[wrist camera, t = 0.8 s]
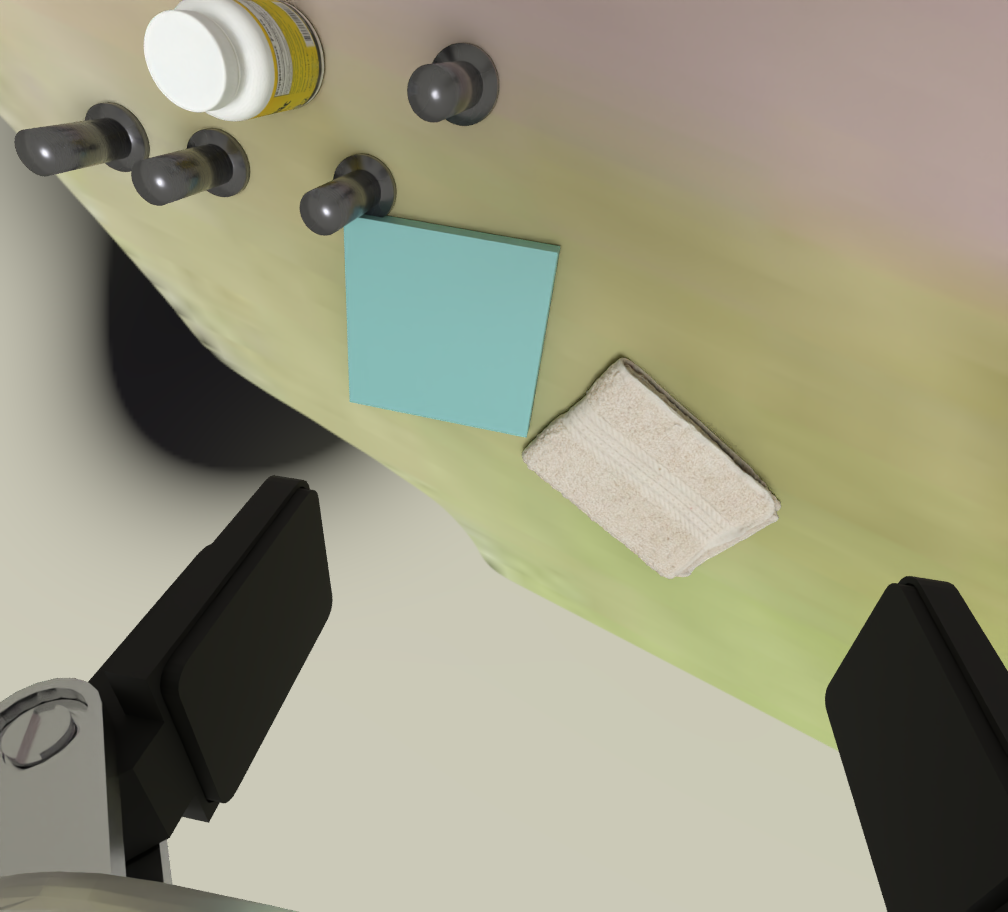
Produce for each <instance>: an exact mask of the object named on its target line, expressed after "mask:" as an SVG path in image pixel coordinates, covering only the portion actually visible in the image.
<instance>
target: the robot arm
mask: <svg viewBox="0 0 1008 912" xmlns="http://www.w3.org/2000/svg"><path fill="white" fill-rule="evenodd" d="M331 607H332V591H331V584H330V577H329V570H328V562H327V555H326V549H325V541H324V534H323V527H322V520H321V513H320V505H319V498H318V494H317V492H316V491H314V490H310V488H309V485H308V483H307V482H306V481H304V480H299V479H294V478H287V477H280V476H275V475H274V476H270V477H269V478H268V479H267V480H266V481H265V482H264V483H263V484H262V485H261V487H260V488H259V489H258V490H257V491H256V493H255V494H254V495H253V496H252V497H251V498H250V499H249V501H248V502H247V503H246V504H245V505H244V507H243V508H242V509H241V510H240V511H239V512H238V514H237V515H236V516H235V517H234V518H233V520H232V521H231V522H230V523H229V524H228V525H227V527H226V528H225V529H224V530H223V531H222V532H221V534H220V535H219V536H218V537H217V538H216V539H215V541H214V542H213V543H212V544H210V545H208V546H206V547H205V548H204V549H203V550H202V551H201V552H199V554H198V555H197V556H196V557H195V558H194V559H193V561H192V562H191V563H190V564H189V565H188V566H187V568H186V569H185V570H184V571H183V572H182V573H181V574H180V576H179V577H178V578H177V579H176V580H175V582H174V583H173V584H172V585H171V586H170V587H169V588H168V590H167V591H166V592H165V593H164V594H163V596H162V597H161V598H160V599H159V600H158V601H157V602H156V604H155V605H154V606H153V607H152V608H151V609H150V611H149V612H148V613H147V614H146V615H145V616H144V618H143V619H142V620H141V621H140V622H139V624H138V625H137V626H136V627H135V628H134V629H133V630H132V632H131V633H130V634H129V635H128V636H127V637H126V639H125V640H124V641H123V642H122V643H121V644H120V646H119V647H118V648H117V649H116V650H115V651H114V652H113V654H112V655H111V656H110V657H109V658H108V659H107V661H106V662H105V663H104V664H103V665H102V667H101V668H100V669H99V670H98V671H97V672H96V674H95V675H94V676H93V677H92V678H91V679H90V680H89V682H86V681H83V680H79V679H76V678H56V679H51V680H48V681H44V682H39V683H36V684H33V685H31V686H29V687H26V688H24V689H22V690H19V691H17V692H15V693H14V694H13V695H11V696H9V697H8V698H6V699H5V700H3V701H2V702H0V912H297V911H293V910H288V909H283V908H280V907H275V906H271V905H266V904H262V903H256V902H252V901H247V900H243V899H238V898H233V897H228V896H223V895H219V894H214V893H209V892H204V891H200V890H195V889H190V888H185V887H181V886H176V885H172V878H171V870H170V861H169V854H168V845H167V839H168V838H170V836H171V834H172V833H173V831H174V829H175V827H176V826H177V824H178V822H179V821H180V819H181V817H186V818H191V819H195V820H200V821H204V822H209V821H210V819H211V817H212V816H213V814H214V812H215V810H216V808H217V806H218V804H219V803H227V802H228V801H229V800H230V799H231V798H232V797H233V796H234V794H235V792H236V790H237V789H238V787H239V785H240V783H241V782H242V780H243V777H244V776H245V774H246V772H247V770H248V768H249V766H250V764H251V763H252V761H253V759H254V757H255V755H256V753H257V751H258V749H259V748H260V745H261V744H262V742H263V740H264V738H265V736H266V734H267V732H268V730H269V729H270V727H271V725H272V723H273V721H274V719H275V717H276V715H277V714H278V712H279V710H280V708H281V706H282V704H283V702H284V700H285V699H286V697H287V695H288V693H289V691H290V689H291V687H292V685H293V683H294V682H295V680H296V678H297V676H298V674H299V672H300V670H301V668H302V666H303V665H304V663H305V661H306V659H307V657H308V655H309V653H310V651H311V650H312V648H313V646H314V644H315V642H316V640H317V638H318V636H319V635H320V633H321V631H322V629H323V627H324V625H325V623H326V621H327V619H328V617H329V614H330V612H331ZM825 705H826V710H827V714H828V717H829V720H830V724H831V727H832V730H833V733H834V737H835V740H836V743H837V747H838V750H839V753H840V757H841V760H842V763H843V766H844V770H845V773H846V776H847V780H848V783H849V786H850V790H851V793H852V796H853V799H854V802H855V806H856V809H857V813H858V816H859V819H860V822H861V826H862V829H863V832H864V836H865V839H866V842H867V845H868V849H869V852H870V855H871V859H872V862H873V865H874V868H875V872H876V875H877V878H878V882H879V885H880V888H881V892H882V895H883V898H884V901H885V905H886V908H887V912H1008V671H1007V669H1006V668H1005V666H1004V664H1003V663H1002V661H1001V660H1000V658H999V656H998V655H997V653H996V651H995V650H994V648H993V647H992V645H991V643H990V642H989V640H988V638H987V637H986V635H985V634H984V632H983V630H982V629H981V627H980V625H979V624H978V622H977V621H976V619H975V617H974V616H973V614H972V612H971V611H970V609H969V608H968V606H967V604H966V603H965V601H964V599H963V598H962V596H961V595H960V593H959V591H958V590H957V589H956V588H955V586H954V585H953V584H951V583H949V582H944V581H938V580H932V579H925V578H919V577H913V576H906V577H904V578H902V579H901V580H900V582H899V583H898V584H897V583H892V584H890V585H889V586H888V587H887V588H886V589H885V591H884V593H883V594H882V596H881V598H880V600H879V601H878V603H877V605H876V606H875V608H874V610H873V611H872V613H871V615H870V616H869V618H868V620H867V621H866V623H865V625H864V626H863V628H862V630H861V631H860V633H859V635H858V636H857V638H856V640H855V641H854V643H853V645H852V646H851V648H850V650H849V651H848V653H847V655H846V656H845V658H844V660H843V661H842V663H841V665H840V666H839V668H838V670H837V671H836V673H835V675H834V677H833V678H832V680H831V682H830V683H829V685H828V687H827V690H826V694H825Z"/></svg>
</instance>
